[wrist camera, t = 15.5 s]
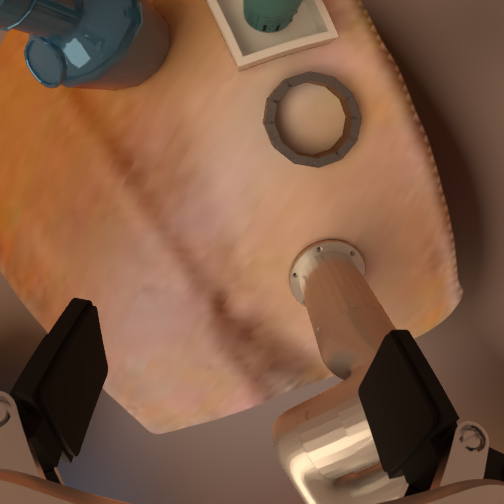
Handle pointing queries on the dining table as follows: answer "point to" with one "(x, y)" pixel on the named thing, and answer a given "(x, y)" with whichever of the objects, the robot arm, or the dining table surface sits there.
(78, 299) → the robot arm
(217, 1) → the bin
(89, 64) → the wine bottle
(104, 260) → the dining table surface
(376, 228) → the dining table surface
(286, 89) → the holder ring
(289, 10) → the beverage bottle
